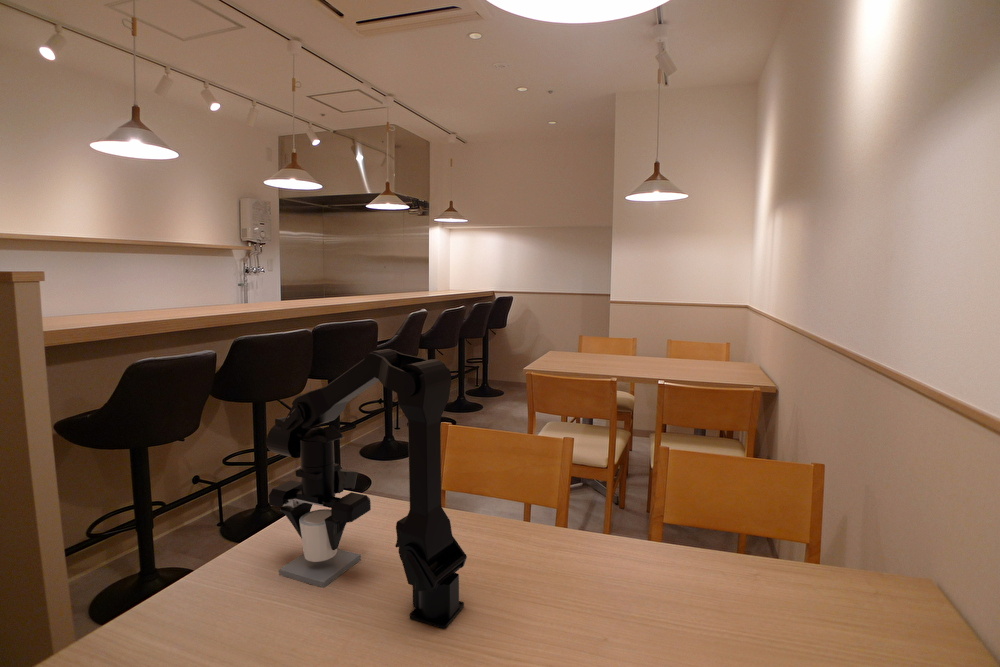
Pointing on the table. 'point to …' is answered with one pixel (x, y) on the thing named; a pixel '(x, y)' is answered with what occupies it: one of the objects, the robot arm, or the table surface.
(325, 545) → the white cup
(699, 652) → the table surface
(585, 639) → the table surface
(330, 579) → the slate plate
